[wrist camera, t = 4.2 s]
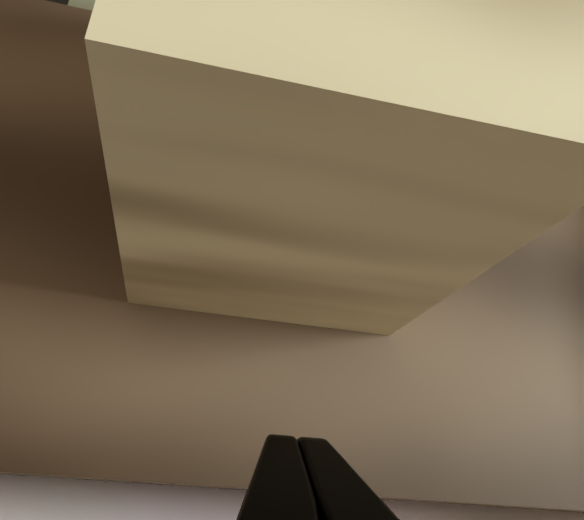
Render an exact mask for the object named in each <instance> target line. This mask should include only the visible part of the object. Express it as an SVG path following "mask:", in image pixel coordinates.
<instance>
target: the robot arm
mask: <svg viewBox="0 0 584 520" xmlns="http://www.w3.org/2000/svg"><path fill="white" fill-rule="evenodd" d="M237 520H399V519H398V518H397V517H396V515H395V514H394V513H393V512H392V511H391V510H390V509H389V508H388V507H387V505H386V504H385V503H384V502H383V501H382V500H381V499H380V498H379V497H378V496H377V494H376V493H375V492H374V491H373V490H372V489H371V488H370V487H369V486H368V484H367V483H366V482H365V481H364V480H363V479H362V478H361V477H360V476H359V475H358V473H357V472H356V471H355V470H354V469H353V468H352V467H351V466H350V465H349V463H348V462H347V461H346V460H345V459H344V458H343V457H342V456H341V455H340V454H339V452H338V451H337V450H336V449H335V448H334V447H333V446H332V445H331V444H330V443H329V442H328V441H327V440H326V439H323V438H313V437H299V438H298V439H296V438H295V437H294V436H289V435H277V434H270V435H268V436H267V437H266V439H265V442H264V445H263V448H262V450H261V453H260V456H259V459H258V461H257V464H256V467H255V470H254V473H253V475H252V478H251V481H250V484H249V486H248V489H247V492H246V495H245V498H244V500H243V503H242V506H241V509H240V511H239V514H238V517H237Z"/></svg>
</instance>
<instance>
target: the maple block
mask: <svg viewBox="0 0 584 520" xmlns="http://www.w3.org/2000/svg"><path fill="white" fill-rule="evenodd" d="M84 39H85V45H86V51H87V57H88V63H89V69H90V75H91V82H92V88H93V94H94V100H95V106H96V112H97V118H98V124H99V130H100V136H101V142H102V148H103V154H104V160H105V167H106V173H107V179H108V185H109V191H110V197H111V203H112V209H113V215H114V221H115V227H116V233H117V239H118V246H119V252H120V258H121V264H122V270H123V276H124V282H125V288H126V294H127V300H128V303H133V304H141V305H149V306H157V307H165V308H173V309H181V310H189V311H197V312H205V313H213V314H221V315H229V316H237V317H245V318H253V319H261V320H269V321H277V322H285V323H293V324H301V325H309V326H317V327H325V328H333V329H341V330H349V331H357V332H365V333H373V334H381V335H389V336H390V335H391V334H393V333H394V332H396V331H397V330H399V329H400V328H402V327H403V326H405V325H406V324H408V323H409V322H411V321H412V320H414V319H415V318H417V317H418V316H420V315H421V314H423V313H424V312H425V311H427V310H428V309H430V308H431V307H433V306H434V305H436V304H437V303H439V302H440V301H442V300H443V299H445V298H446V297H448V296H449V295H451V294H452V293H454V292H455V291H457V290H458V289H460V288H461V287H463V286H464V285H466V284H467V283H469V282H470V281H472V280H473V279H475V278H476V277H478V276H479V275H481V274H482V273H484V272H485V271H487V270H488V269H490V268H491V267H493V266H494V265H496V264H497V263H499V262H500V261H501V260H503V259H504V258H506V257H507V256H509V255H510V254H512V253H513V252H515V251H516V250H518V249H519V248H521V247H522V246H524V245H525V244H527V243H528V242H530V241H531V240H533V239H534V238H536V237H537V236H539V235H540V234H542V233H543V232H545V231H546V230H548V229H549V228H551V227H552V226H554V225H555V224H557V223H558V222H560V221H561V220H563V219H564V218H566V217H567V216H569V215H570V214H572V213H573V212H575V211H576V210H578V209H579V208H580V207H582V206H583V205H584V0H96V1H95V4H94V8H93V11H92V14H91V18H90V21H89V25H88V28H87V31H86V35H85V38H84Z"/></svg>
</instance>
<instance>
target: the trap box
mask: <svg viewBox="0 0 584 520" xmlns="http://www.w3.org/2000/svg"><path fill="white" fill-rule="evenodd" d="M95 1H96V0H0V473H1V474H16V475H31V476H46V477H61V478H76V479H91V480H107V481H122V482H137V483H152V484H167V485H182V486H197V487H213V488H228V489H243V490H247V489H248V486H249V484H250V481H251V478H252V475H253V473H254V470H255V467H256V464H257V461H258V459H259V456H260V453H261V450H262V448H263V445H264V442H265V439H266V437H267V436H268V435H270V434H277V435H289V436H294V437H295V438H296V439H298V438H299V437H313V438H323V439H326V440H327V441H328V442H329V443H330V444H331V445H332V446H333V447H334V448H335V449H336V450H337V451H338V452H339V454H340V455H341V456H342V457H343V458H344V459H345V460H346V461H347V462H348V463H349V465H350V466H351V467H352V468H353V469H354V470H355V471H356V472H357V473H358V475H359V476H360V477H361V478H362V479H363V480H364V481H365V482H366V483H367V484H368V486H369V487H370V488H371V489H372V490H373V491H374V492H375V493H376V494H377V496H378V497H379V498H380V499H394V500H409V501H424V502H440V503H455V504H470V505H485V506H500V507H515V508H530V509H546V510H561V511H576V512H584V205H583V206H582V207H580V208H579V209H578V210H576V211H575V212H573V213H572V214H570V215H569V216H567V217H566V218H564V219H563V220H561V221H560V222H558V223H557V224H555V225H554V226H552V227H551V228H549V229H548V230H546V231H545V232H543V233H542V234H540V235H539V236H537V237H536V238H534V239H533V240H531V241H530V242H528V243H527V244H525V245H524V246H522V247H521V248H519V249H518V250H516V251H515V252H513V253H512V254H510V255H509V256H507V257H506V258H504V259H503V260H501V261H500V262H499V263H497V264H496V265H494V266H493V267H491V268H490V269H488V270H487V271H485V272H484V273H482V274H481V275H479V276H478V277H476V278H475V279H473V280H472V281H470V282H469V283H467V284H466V285H464V286H463V287H461V288H460V289H458V290H457V291H455V292H454V293H452V294H451V295H449V296H448V297H446V298H445V299H443V300H442V301H440V302H439V303H437V304H436V305H434V306H433V307H431V308H430V309H428V310H427V311H425V312H424V313H423V314H421V315H420V316H418V317H417V318H415V319H414V320H412V321H411V322H409V323H408V324H406V325H405V326H403V327H402V328H400V329H399V330H397V331H396V332H394V333H393V334H391V335H390V336H389V335H381V334H373V333H365V332H357V331H349V330H341V329H333V328H325V327H317V326H309V325H301V324H293V323H285V322H277V321H269V320H261V319H253V318H245V317H237V316H229V315H221V314H213V313H205V312H197V311H189V310H181V309H173V308H165V307H157V306H149V305H141V304H133V303H128V300H127V294H126V288H125V282H124V276H123V270H122V264H121V258H120V252H119V246H118V239H117V233H116V227H115V221H114V215H113V209H112V203H111V197H110V191H109V185H108V179H107V173H106V167H105V160H104V154H103V148H102V142H101V136H100V130H99V124H98V118H97V112H96V106H95V100H94V94H93V88H92V82H91V75H90V69H89V63H88V57H87V51H86V45H85V39H84V38H85V35H86V31H87V28H88V25H89V21H90V18H91V14H92V11H93V8H94V4H95Z"/></svg>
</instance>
